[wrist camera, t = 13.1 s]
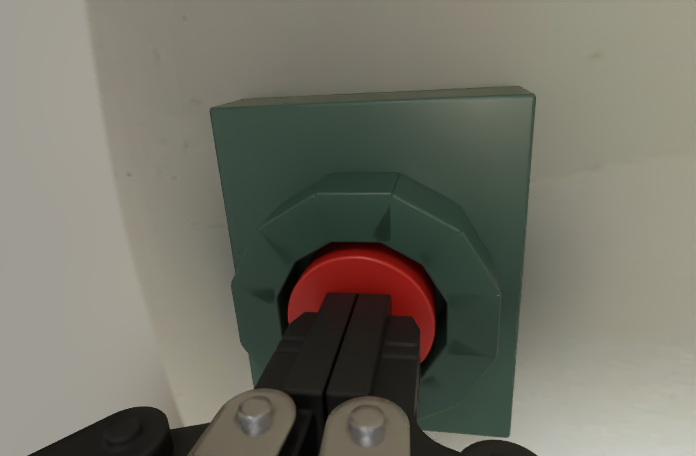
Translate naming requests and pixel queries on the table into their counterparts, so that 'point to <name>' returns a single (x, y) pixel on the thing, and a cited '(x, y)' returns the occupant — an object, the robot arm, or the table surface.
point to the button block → (389, 221)
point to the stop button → (368, 283)
